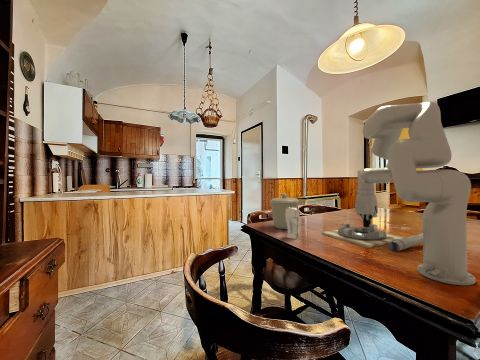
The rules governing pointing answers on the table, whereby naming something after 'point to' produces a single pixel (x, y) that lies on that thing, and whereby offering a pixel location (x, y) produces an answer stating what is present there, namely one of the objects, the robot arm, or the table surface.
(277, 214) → the canister
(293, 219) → the beer glass
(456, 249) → the robot arm
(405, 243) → the grey flashlight
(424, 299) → the table surface
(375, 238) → the ring nut
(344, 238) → the nut board
